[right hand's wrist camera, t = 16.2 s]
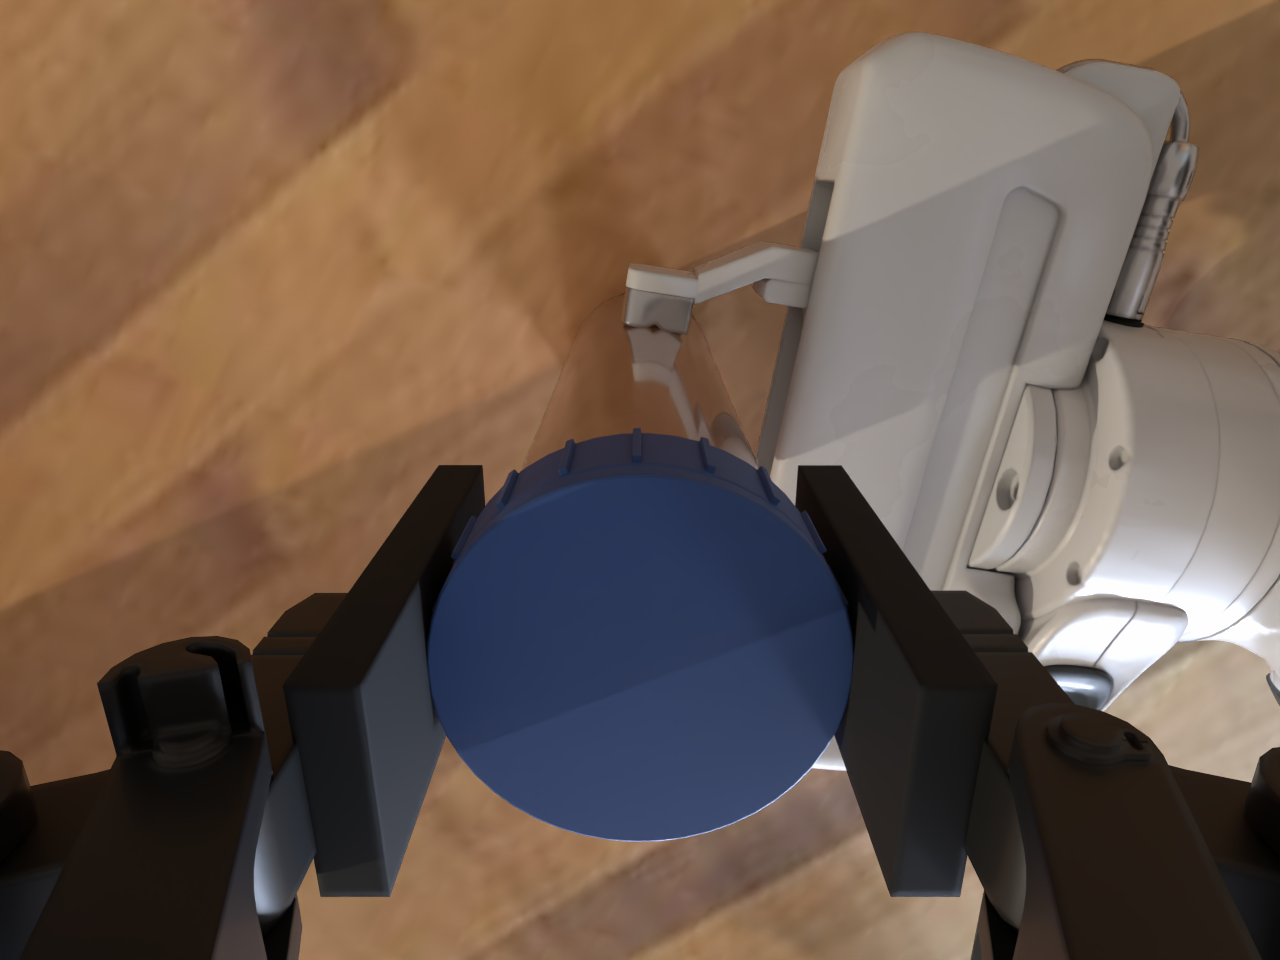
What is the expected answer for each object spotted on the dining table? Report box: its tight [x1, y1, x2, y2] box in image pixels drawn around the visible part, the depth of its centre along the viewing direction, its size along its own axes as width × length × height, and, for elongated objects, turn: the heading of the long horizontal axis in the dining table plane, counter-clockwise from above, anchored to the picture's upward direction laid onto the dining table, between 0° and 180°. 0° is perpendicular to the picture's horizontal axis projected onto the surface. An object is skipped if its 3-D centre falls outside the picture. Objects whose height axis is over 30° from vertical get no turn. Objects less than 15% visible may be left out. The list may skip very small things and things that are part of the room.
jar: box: [520, 294, 759, 472], centre depth 20 cm, size 5×5×19 cm
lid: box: [427, 428, 854, 842], centre depth 11 cm, size 6×6×2 cm
